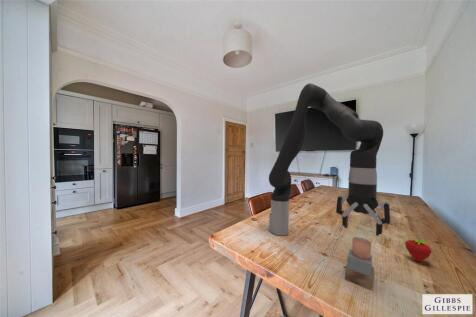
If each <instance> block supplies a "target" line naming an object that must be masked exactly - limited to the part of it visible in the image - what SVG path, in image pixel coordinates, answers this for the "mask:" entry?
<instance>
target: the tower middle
mask: <svg viewBox="0 0 476 317" xmlns="http://www.w3.org/2000/svg"><path fill="white" fill-rule="evenodd" d="M346 257H347V258H346V262H347V263H346V265H347V268H348V269H350V270H353V271H356V272H358V273H361V274H364V275H367V276H369V277H370V274H371V268H372V267H373V255H372V254H371V259H370V260H361V259H358V258H356V257H354V256H353V255H352V248H351V249H350V250H349V251H348V254H347V256H346Z"/></svg>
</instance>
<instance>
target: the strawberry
mask: <svg viewBox="0 0 476 317" xmlns="http://www.w3.org/2000/svg"><path fill="white" fill-rule="evenodd" d="M404 244H405V248H406V250H407V252H408V253H409V254H410V256H411V257H412V258H413V260H414V261H416V262H417V263H420V262H422V261H425V260H426V259H427V258H430V256H431V254H432V248H430V246H428V243H427V242H426V240H422V239H421V238H419V239H417V238H411V237H409V239H408V240H406V241H405V243H404Z"/></svg>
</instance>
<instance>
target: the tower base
mask: <svg viewBox="0 0 476 317" xmlns="http://www.w3.org/2000/svg"><path fill="white" fill-rule="evenodd" d="M345 280H346V281H347V282H350V283H352V284H354V285H357V286H360V287H361V288H364V289H367V290H369V291H372V290H373V285H374V280H375V267H374V266H372V268H371V274H370V277H369V276H367V275H364V274H361V273H358V272H356V271H353V270H350V269H348V268H347V264H346V266H345V268H344V281H345Z"/></svg>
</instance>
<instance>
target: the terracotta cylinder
mask: <svg viewBox="0 0 476 317" xmlns="http://www.w3.org/2000/svg"><path fill="white" fill-rule="evenodd" d="M351 239H352V242H351V243H352V244H351V249H352V255H353V256H354V257H356V258H358V259H361V260H370V259H371V255H372V242H371V241H370V240H368V239H367V238H363V237H352V238H351Z"/></svg>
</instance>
